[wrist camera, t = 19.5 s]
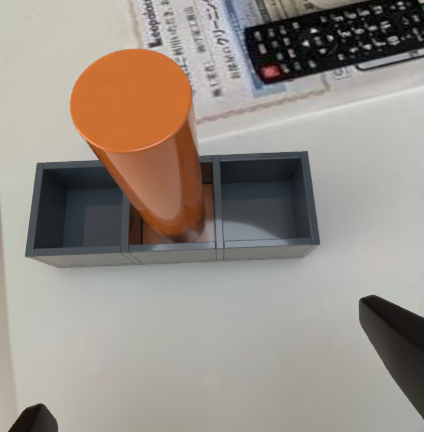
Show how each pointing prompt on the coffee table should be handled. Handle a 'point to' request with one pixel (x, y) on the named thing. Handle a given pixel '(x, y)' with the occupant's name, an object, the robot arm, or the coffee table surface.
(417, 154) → the coffee table surface
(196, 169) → the orange upright cylinder
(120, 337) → the coffee table surface
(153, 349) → the coffee table surface
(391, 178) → the coffee table surface
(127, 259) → the tray
